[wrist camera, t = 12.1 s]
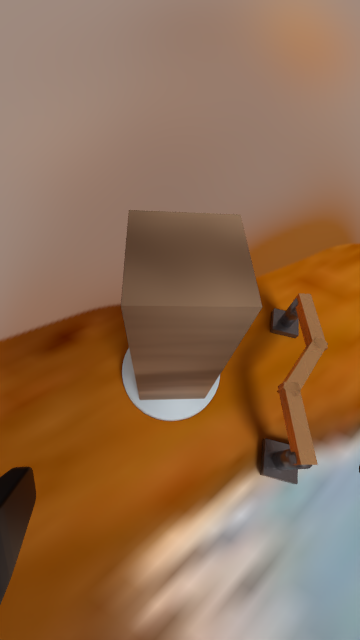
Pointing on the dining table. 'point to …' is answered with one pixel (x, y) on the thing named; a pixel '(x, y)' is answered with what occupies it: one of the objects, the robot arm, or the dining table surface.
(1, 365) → the dining table surface
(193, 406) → the pad
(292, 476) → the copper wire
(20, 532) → the robot arm
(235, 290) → the taupe upright block
